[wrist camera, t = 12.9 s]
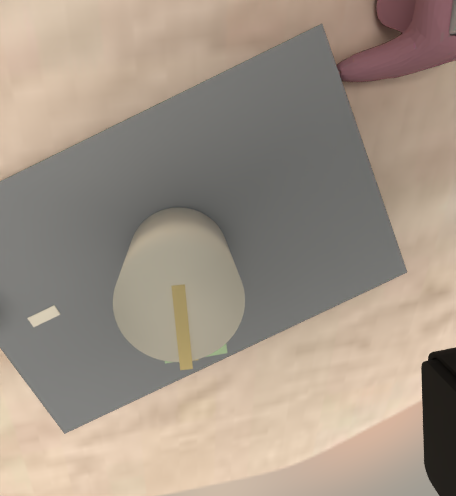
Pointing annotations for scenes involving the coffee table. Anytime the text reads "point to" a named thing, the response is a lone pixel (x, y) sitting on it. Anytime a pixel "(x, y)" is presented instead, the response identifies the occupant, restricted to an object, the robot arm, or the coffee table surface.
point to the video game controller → (407, 41)
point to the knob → (178, 288)
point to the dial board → (200, 199)
